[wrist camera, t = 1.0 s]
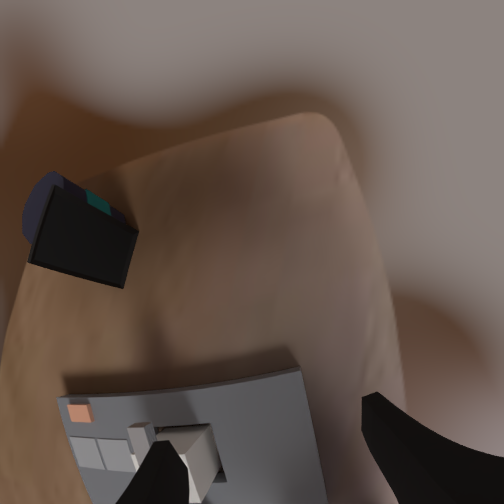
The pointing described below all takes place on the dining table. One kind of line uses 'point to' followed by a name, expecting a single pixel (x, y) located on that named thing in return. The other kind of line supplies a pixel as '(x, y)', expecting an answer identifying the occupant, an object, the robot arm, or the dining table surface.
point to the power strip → (225, 433)
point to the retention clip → (141, 439)
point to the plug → (193, 456)
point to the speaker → (77, 232)
